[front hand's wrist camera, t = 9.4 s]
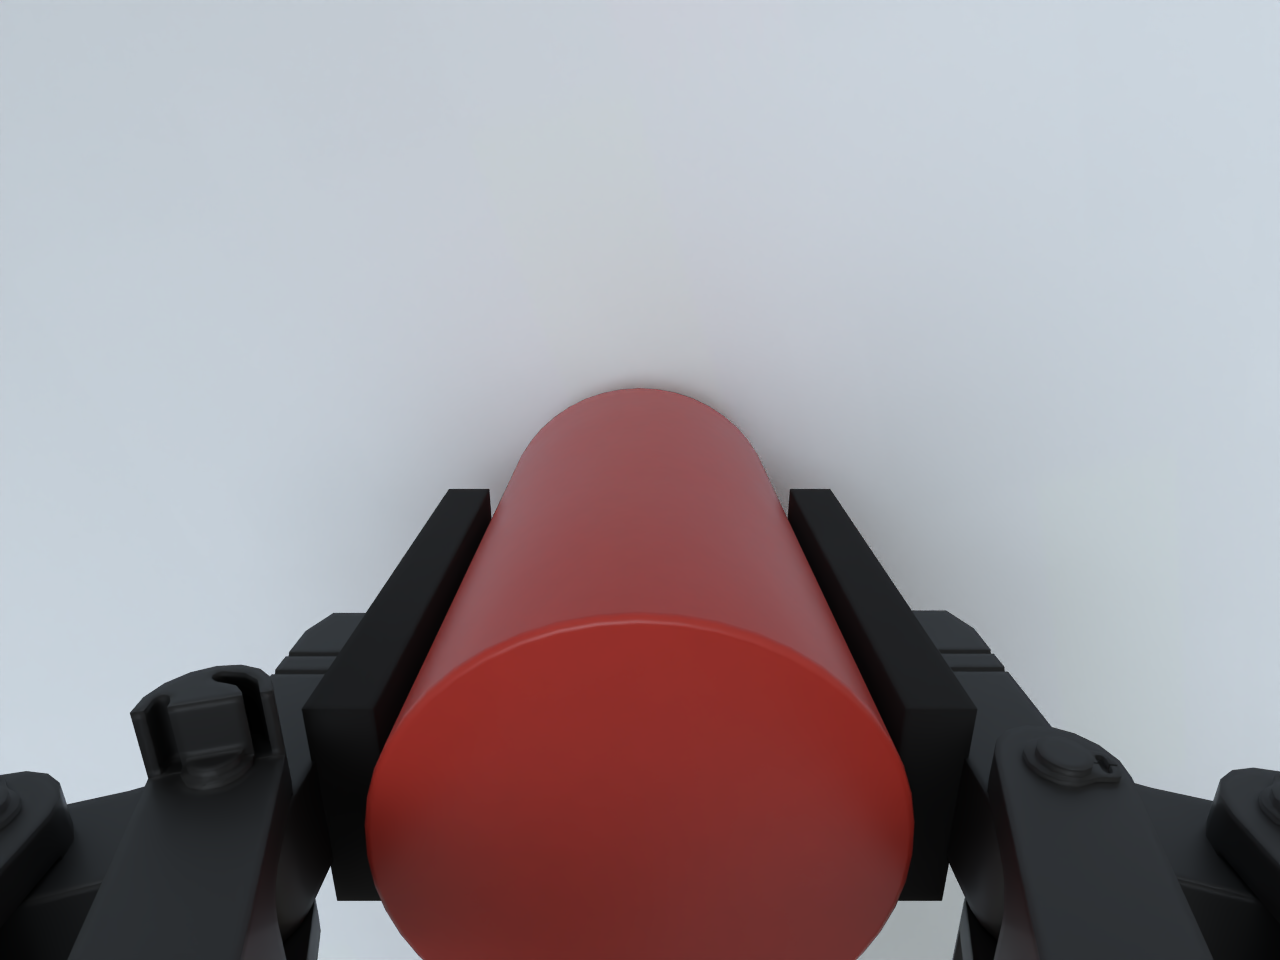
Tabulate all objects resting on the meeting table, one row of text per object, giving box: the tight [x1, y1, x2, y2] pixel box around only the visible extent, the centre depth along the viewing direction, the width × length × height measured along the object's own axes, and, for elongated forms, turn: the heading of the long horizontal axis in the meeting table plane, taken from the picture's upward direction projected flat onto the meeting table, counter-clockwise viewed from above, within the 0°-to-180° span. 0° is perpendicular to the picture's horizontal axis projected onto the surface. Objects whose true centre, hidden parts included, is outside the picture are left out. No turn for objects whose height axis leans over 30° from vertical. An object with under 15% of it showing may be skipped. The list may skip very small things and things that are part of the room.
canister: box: [365, 388, 915, 960], centre depth 12 cm, size 6×6×9 cm
